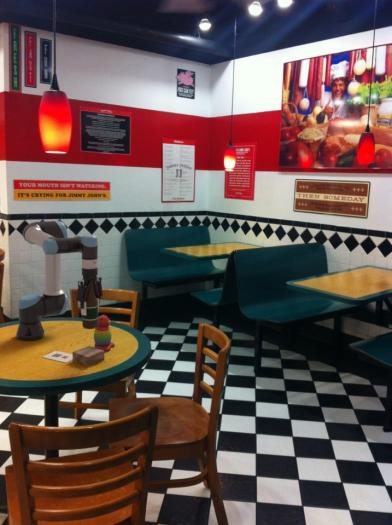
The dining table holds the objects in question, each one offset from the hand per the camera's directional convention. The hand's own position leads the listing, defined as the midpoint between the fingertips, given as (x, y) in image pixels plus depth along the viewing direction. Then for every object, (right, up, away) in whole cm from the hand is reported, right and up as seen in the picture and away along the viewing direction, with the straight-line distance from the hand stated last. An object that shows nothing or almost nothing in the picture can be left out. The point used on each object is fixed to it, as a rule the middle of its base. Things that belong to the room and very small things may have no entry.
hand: (90, 312), depth 249 cm
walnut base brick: (-2, -24, +5) cm, 25 cm away
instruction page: (-16, -23, +8) cm, 30 cm away
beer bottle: (0, -7, +1) cm, 7 cm away
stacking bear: (+2, -21, +23) cm, 31 cm away
